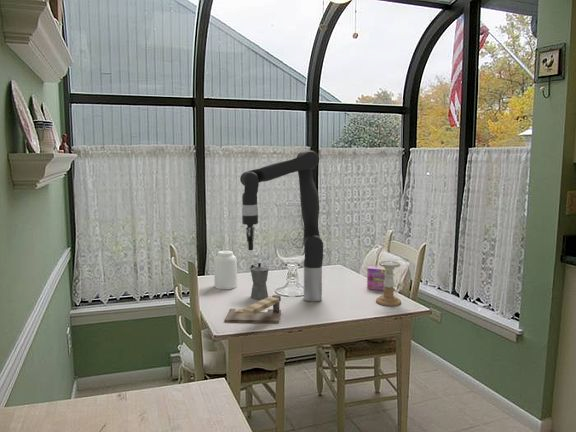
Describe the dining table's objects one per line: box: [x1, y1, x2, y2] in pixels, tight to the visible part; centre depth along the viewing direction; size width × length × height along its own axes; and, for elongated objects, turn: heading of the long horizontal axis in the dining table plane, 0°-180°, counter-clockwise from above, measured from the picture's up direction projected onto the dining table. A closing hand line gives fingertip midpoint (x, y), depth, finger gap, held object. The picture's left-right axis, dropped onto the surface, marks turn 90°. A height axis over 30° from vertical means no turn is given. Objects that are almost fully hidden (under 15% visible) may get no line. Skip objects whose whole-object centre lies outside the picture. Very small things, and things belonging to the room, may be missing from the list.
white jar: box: [213, 249, 238, 290], centre depth 268 cm, size 12×12×20 cm
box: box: [366, 265, 386, 291], centre depth 268 cm, size 10×6×12 cm, turn 68°
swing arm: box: [242, 294, 282, 315], centre depth 215 cm, size 24×5×2 cm, turn 149°
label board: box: [224, 301, 282, 324], centre depth 220 cm, size 24×15×6 cm, turn 88°
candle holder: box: [375, 260, 402, 307], centre depth 242 cm, size 12×12×20 cm
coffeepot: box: [250, 262, 269, 301], centre depth 251 cm, size 15×9×18 cm, turn 33°
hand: (250, 249), depth 233 cm, fingers closed
